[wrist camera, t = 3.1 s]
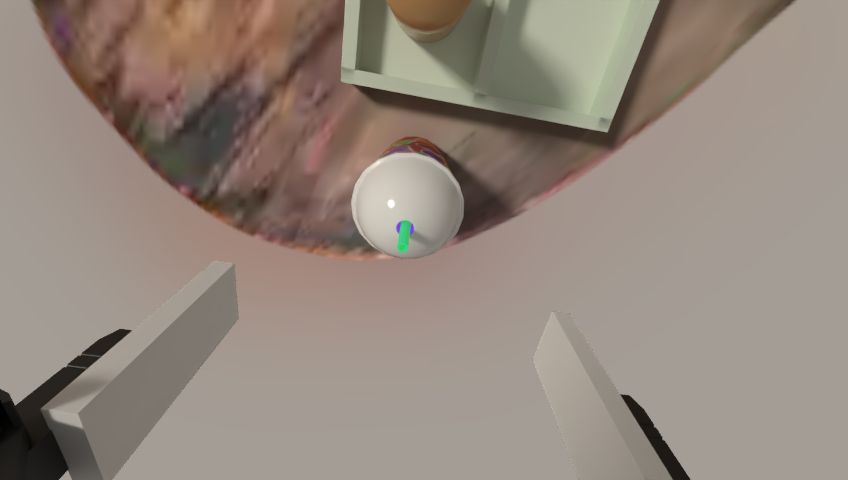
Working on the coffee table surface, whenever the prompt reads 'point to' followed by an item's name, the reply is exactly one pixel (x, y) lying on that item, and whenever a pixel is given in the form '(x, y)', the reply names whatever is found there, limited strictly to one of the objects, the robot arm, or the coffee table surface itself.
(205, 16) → the coffee table surface
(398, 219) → the smoothie
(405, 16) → the tan rounded capsule
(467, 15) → the green divided tray
